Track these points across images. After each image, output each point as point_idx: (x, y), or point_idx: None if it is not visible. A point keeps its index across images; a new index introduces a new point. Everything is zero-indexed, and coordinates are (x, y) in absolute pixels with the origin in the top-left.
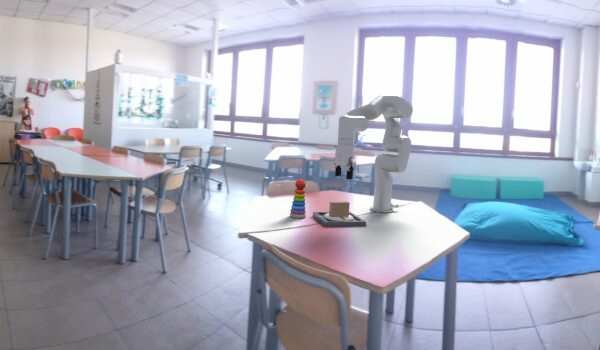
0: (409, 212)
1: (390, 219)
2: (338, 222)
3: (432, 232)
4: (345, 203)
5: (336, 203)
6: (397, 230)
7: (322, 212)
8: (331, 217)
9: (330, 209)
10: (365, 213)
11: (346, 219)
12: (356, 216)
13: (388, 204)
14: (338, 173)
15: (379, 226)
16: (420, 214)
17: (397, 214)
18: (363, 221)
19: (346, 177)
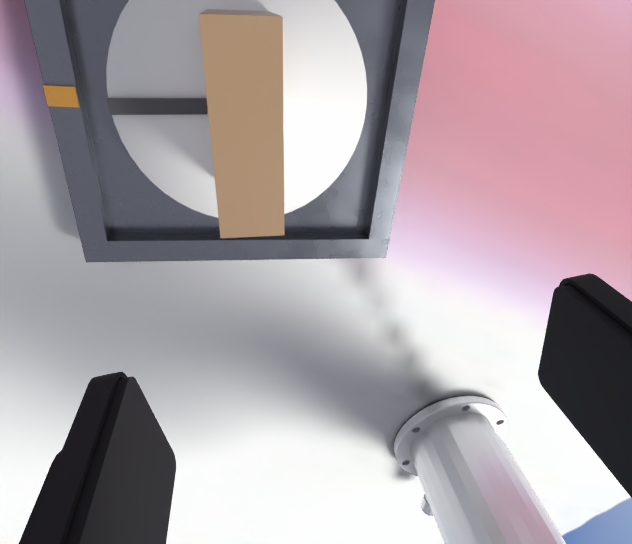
0: (380, 511)
1: (266, 417)
2: (28, 6)
3: (14, 495)
4: (217, 191)
5: (205, 78)
6: (18, 378)
7: (408, 4)
8: (193, 4)
9: (243, 12)
10: (411, 348)
11: (123, 127)
12: (242, 249)
13: (421, 482)
14: (583, 368)
15: (102, 320)
16: (340, 532)
17: (357, 467)
18: (85, 242)
19: (106, 398)
